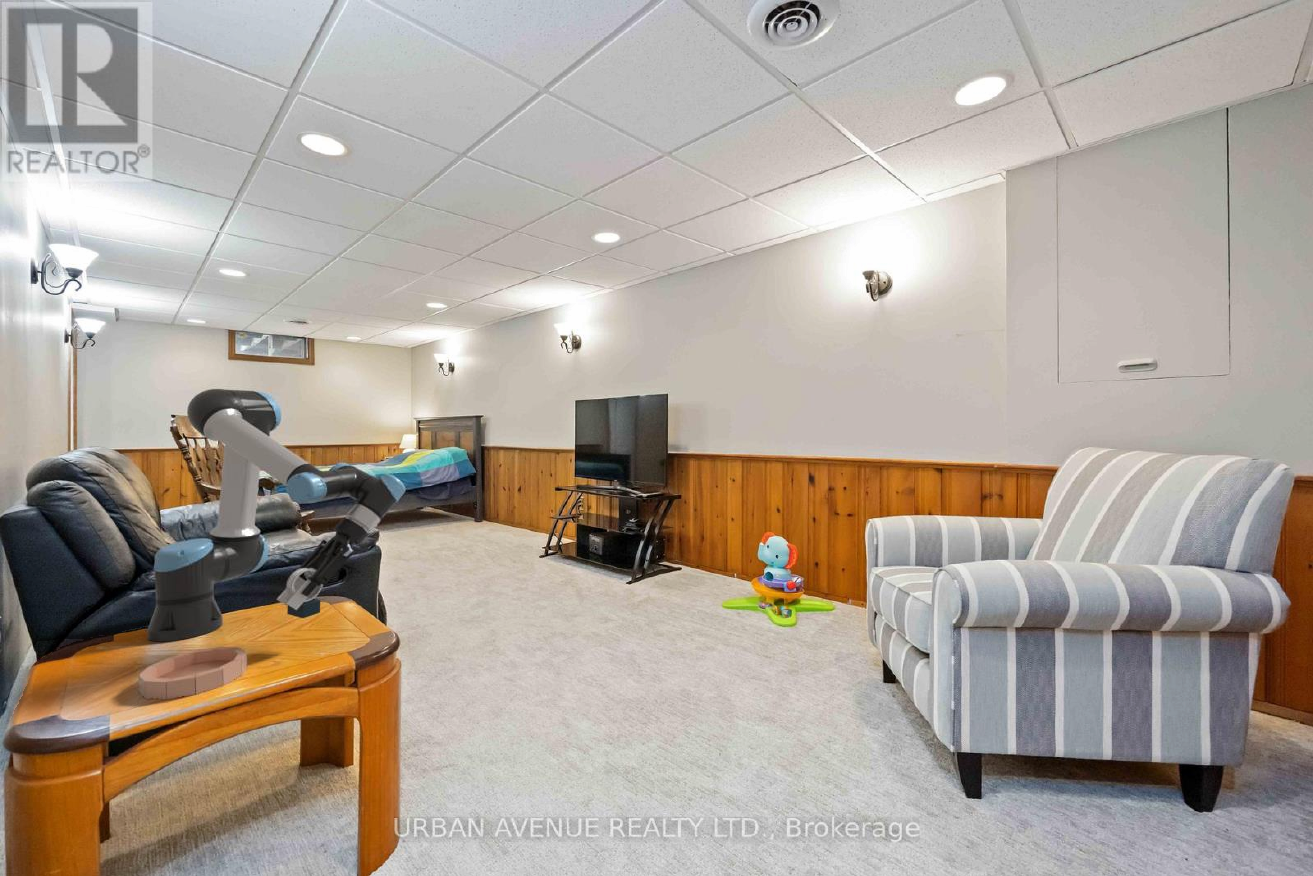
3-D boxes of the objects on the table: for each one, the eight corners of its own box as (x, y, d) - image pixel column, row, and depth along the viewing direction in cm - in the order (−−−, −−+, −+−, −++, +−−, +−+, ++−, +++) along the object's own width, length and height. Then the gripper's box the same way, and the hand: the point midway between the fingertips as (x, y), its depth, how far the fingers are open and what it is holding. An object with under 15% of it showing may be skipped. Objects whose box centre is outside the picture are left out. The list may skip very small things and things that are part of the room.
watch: (327, 610, 137) (328, 566, 136) (295, 620, 129) (296, 574, 129) (311, 606, 139) (313, 563, 138) (279, 616, 131) (280, 570, 131)
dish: (131, 684, 115) (130, 667, 115) (229, 656, 129) (229, 641, 129) (154, 707, 105) (154, 689, 105) (258, 674, 119) (257, 658, 119)
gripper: (384, 538, 141) (315, 620, 128) (350, 530, 151) (283, 605, 138) (363, 520, 137) (289, 603, 124) (329, 513, 147) (258, 589, 134)
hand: (286, 604), depth 131 cm, fingers closed on watch, 5 cm apart
